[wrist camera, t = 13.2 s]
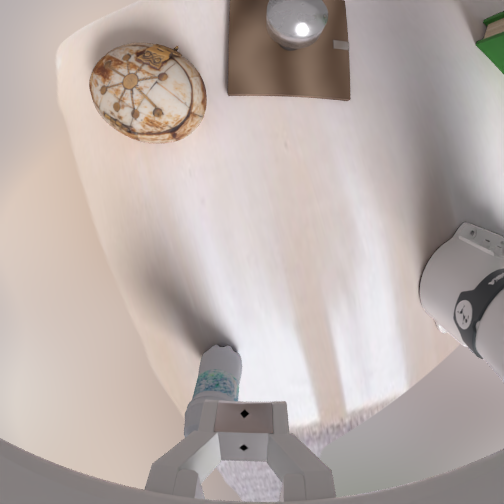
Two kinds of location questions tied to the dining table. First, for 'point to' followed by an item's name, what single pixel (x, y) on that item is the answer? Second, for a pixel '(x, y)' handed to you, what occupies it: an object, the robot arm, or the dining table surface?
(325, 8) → the lever handle
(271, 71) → the base
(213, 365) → the bottle
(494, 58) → the hardback book
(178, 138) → the trinket box
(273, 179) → the dining table surface
